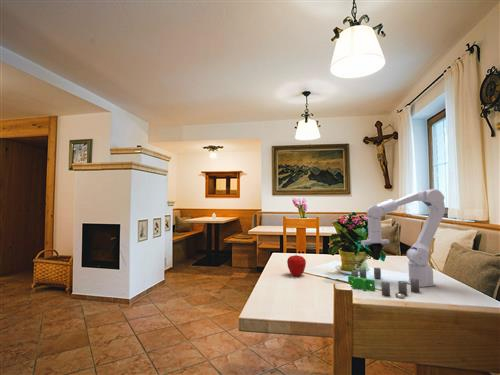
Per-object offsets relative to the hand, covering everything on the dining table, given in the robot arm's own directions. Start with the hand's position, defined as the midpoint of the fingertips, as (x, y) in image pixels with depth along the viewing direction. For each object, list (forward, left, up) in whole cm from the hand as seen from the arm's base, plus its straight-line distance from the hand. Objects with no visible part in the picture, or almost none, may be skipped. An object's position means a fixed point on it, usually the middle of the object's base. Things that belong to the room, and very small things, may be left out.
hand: (375, 259), depth 126 cm
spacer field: (+2, +7, -10) cm, 13 cm away
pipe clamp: (+14, +6, -11) cm, 19 cm away
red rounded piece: (+31, -22, -11) cm, 39 cm away
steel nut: (+6, +20, -11) cm, 23 cm away
